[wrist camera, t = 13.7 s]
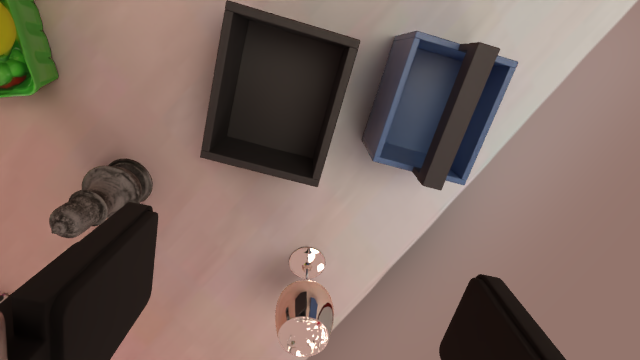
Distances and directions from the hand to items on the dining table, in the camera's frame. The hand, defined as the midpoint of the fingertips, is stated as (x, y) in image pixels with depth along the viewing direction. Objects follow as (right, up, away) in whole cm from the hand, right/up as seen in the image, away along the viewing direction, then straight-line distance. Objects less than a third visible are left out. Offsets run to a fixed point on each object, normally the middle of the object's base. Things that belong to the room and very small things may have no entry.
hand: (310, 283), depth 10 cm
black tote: (-3, +12, +26) cm, 29 cm away
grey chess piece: (-21, +3, +29) cm, 36 cm away
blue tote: (+10, +11, +26) cm, 30 cm away
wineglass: (-1, -7, +33) cm, 34 cm away
